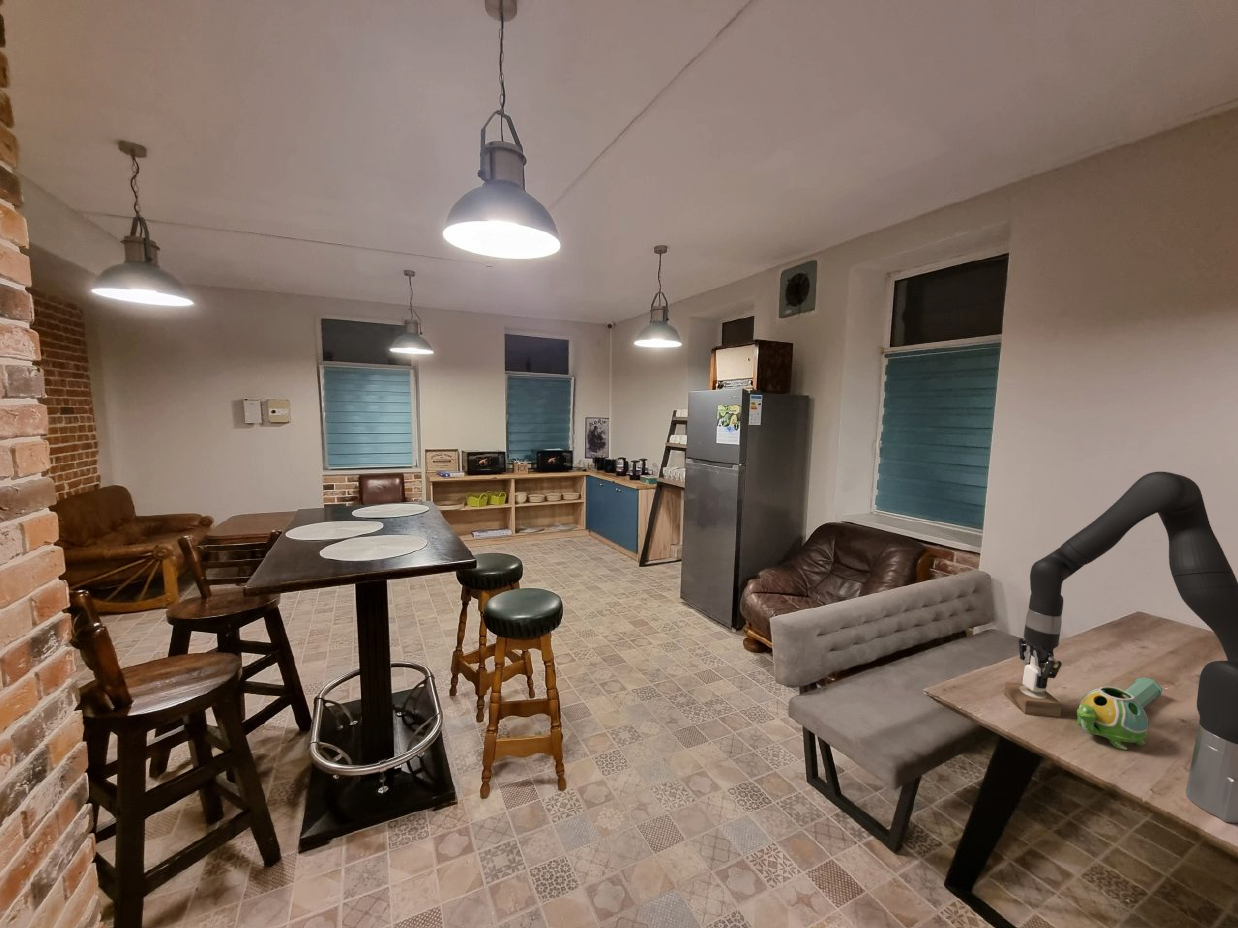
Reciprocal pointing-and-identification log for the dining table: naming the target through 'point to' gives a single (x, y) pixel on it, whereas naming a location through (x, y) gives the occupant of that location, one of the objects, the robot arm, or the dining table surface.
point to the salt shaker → (1032, 676)
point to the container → (1144, 690)
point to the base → (1032, 700)
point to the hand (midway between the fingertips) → (1034, 682)
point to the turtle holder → (1113, 716)
